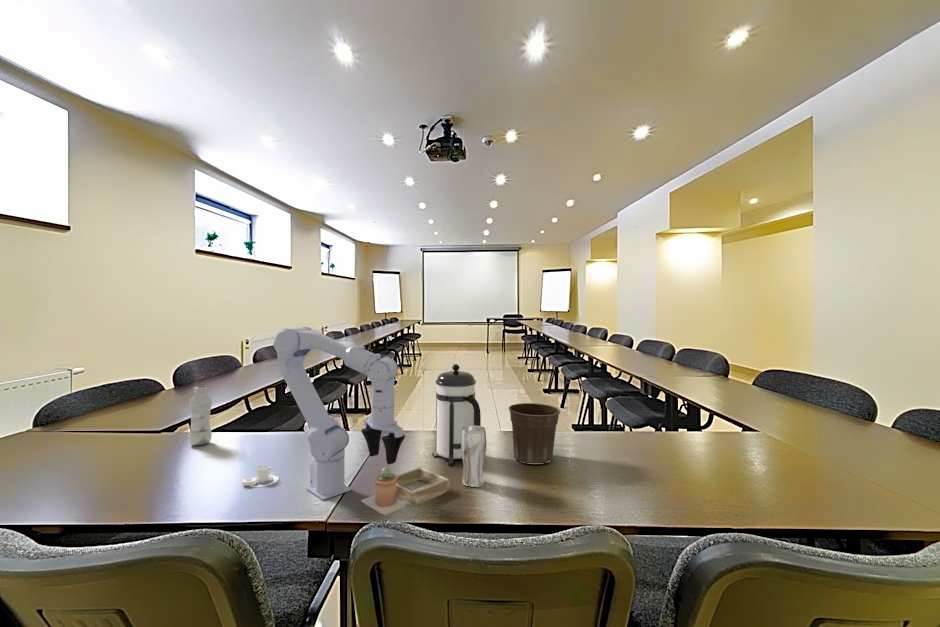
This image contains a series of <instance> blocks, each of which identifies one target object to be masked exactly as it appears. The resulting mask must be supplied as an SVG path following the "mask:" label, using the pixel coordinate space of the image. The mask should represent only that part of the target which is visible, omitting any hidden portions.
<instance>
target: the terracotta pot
mask: <svg viewBox="0 0 940 627" xmlns="http://www.w3.org/2000/svg"><path fill="white" fill-rule="evenodd" d="M397 475H398V474H395V473H392V471H391V469H390V467H388V466H385V467H382V469H381V471H380V473H379V474H377V475H375V476H374V478H373V482H374V484H375V486H374V488H375V489H374V490H375V491H374V492H375V493H374V495H375V504H376V505H377V506H380V507H388V506H391V505H394V504H395V503H396V501H397V497H396V482H397Z"/></svg>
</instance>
